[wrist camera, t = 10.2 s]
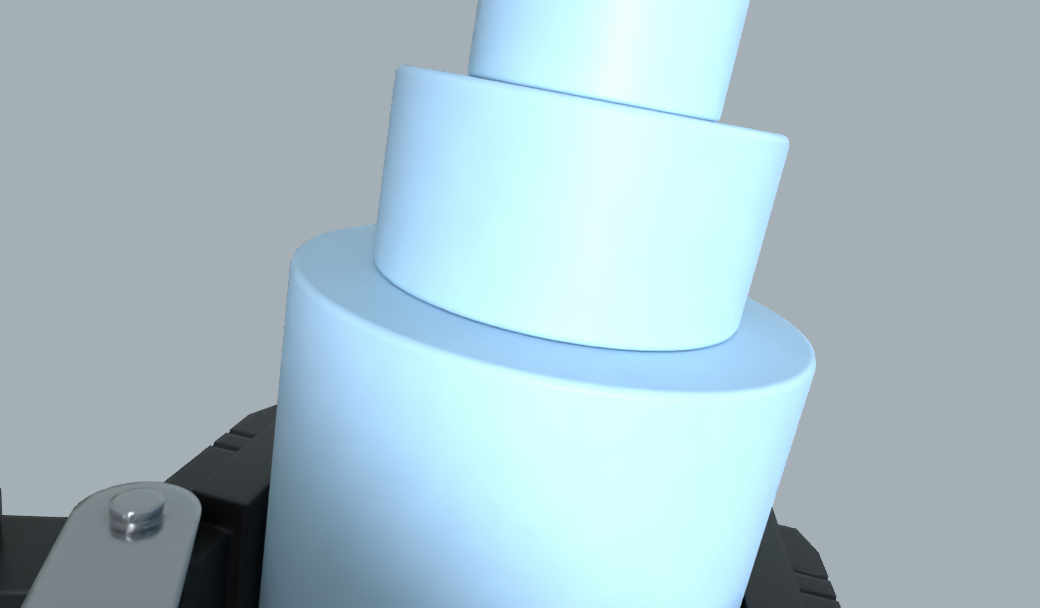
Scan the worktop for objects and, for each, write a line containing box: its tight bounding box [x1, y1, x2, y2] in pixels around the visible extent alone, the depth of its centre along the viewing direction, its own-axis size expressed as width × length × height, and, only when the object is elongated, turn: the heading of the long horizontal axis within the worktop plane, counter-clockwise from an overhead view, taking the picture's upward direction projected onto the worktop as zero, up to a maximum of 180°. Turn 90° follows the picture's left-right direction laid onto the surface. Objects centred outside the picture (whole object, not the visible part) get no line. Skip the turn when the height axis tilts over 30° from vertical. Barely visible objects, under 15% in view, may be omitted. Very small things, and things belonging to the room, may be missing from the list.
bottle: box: [259, 0, 816, 608], centre depth 9 cm, size 6×6×20 cm
